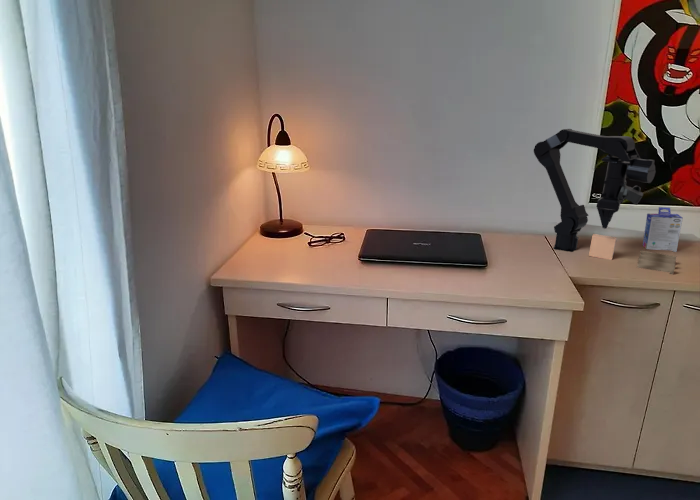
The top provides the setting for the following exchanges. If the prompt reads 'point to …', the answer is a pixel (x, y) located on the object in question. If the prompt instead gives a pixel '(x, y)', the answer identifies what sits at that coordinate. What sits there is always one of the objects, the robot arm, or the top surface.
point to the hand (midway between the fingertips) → (606, 224)
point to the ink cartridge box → (662, 230)
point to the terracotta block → (602, 246)
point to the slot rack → (656, 261)
